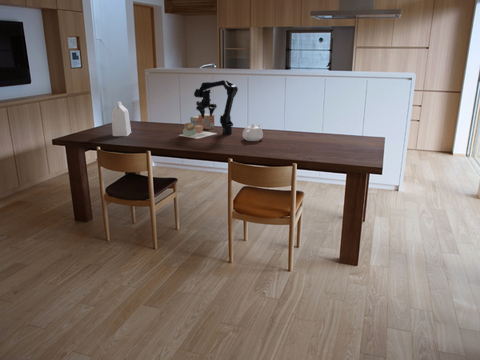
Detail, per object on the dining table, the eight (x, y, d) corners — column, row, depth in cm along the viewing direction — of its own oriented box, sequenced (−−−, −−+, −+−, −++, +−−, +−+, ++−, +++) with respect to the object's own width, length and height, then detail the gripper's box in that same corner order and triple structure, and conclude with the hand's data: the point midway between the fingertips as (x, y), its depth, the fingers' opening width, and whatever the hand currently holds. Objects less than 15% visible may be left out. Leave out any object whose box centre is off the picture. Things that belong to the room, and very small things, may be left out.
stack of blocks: (190, 127, 361) (190, 113, 357) (195, 126, 366) (194, 112, 362) (210, 130, 350) (209, 115, 346) (214, 128, 355) (214, 114, 351)
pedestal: (195, 134, 330) (195, 129, 328) (189, 136, 324) (189, 130, 323) (189, 133, 334) (189, 128, 333) (183, 134, 329) (182, 129, 327)
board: (217, 134, 333) (217, 133, 333) (197, 139, 315) (197, 138, 315) (199, 131, 345) (199, 130, 345) (178, 136, 327) (178, 135, 327)
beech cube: (193, 129, 328) (193, 123, 327) (189, 130, 325) (188, 124, 323) (189, 128, 331) (188, 122, 330) (184, 129, 327) (184, 123, 326)
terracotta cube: (203, 132, 339) (202, 125, 338) (198, 133, 335) (198, 126, 334) (198, 131, 342) (198, 125, 341) (194, 132, 338) (194, 126, 337)
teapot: (255, 144, 301) (255, 127, 297) (236, 141, 308) (236, 125, 304) (268, 137, 322) (269, 121, 318) (250, 135, 329) (251, 120, 325)
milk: (127, 136, 328) (124, 102, 320) (112, 136, 328) (109, 102, 320) (131, 132, 339) (128, 100, 331) (117, 132, 340) (114, 100, 331)
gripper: (206, 96, 345) (207, 115, 350) (191, 98, 331) (191, 118, 336) (216, 97, 339) (217, 116, 344) (201, 99, 325) (201, 119, 330)
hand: (206, 117), depth 339 cm, fingers open, 9 cm apart
